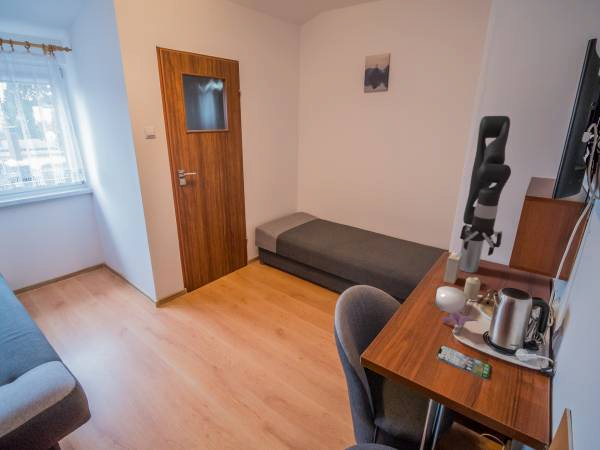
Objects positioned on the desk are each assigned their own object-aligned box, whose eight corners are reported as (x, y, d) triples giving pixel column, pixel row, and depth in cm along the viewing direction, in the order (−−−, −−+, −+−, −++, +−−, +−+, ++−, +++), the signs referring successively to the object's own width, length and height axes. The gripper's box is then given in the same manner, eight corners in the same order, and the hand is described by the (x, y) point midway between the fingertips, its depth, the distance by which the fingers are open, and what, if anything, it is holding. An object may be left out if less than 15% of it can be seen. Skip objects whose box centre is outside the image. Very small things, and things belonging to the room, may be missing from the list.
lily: (481, 337, 110) (478, 309, 112) (475, 342, 101) (472, 312, 102) (445, 333, 117) (443, 308, 119) (437, 338, 108) (435, 310, 110)
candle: (473, 294, 134) (477, 274, 131) (479, 301, 129) (484, 281, 126) (460, 294, 135) (464, 274, 131) (465, 301, 129) (470, 280, 126)
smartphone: (489, 380, 90) (436, 357, 98) (488, 383, 90) (435, 359, 99) (491, 364, 96) (441, 344, 104) (491, 367, 96) (441, 346, 104)
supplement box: (454, 285, 142) (459, 260, 138) (443, 282, 145) (447, 257, 140) (458, 278, 148) (462, 253, 144) (447, 275, 151) (451, 251, 147)
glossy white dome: (440, 295, 134) (442, 283, 132) (467, 304, 127) (469, 292, 125) (431, 306, 126) (433, 294, 124) (459, 317, 119) (462, 304, 117)
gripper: (508, 216, 117) (499, 254, 123) (467, 209, 126) (461, 244, 132) (504, 221, 112) (495, 260, 117) (462, 213, 121) (456, 250, 126)
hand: (477, 252), depth 124 cm, fingers open, 8 cm apart
